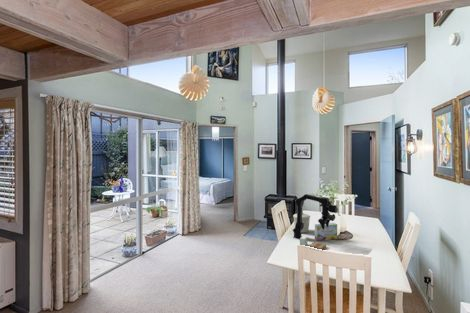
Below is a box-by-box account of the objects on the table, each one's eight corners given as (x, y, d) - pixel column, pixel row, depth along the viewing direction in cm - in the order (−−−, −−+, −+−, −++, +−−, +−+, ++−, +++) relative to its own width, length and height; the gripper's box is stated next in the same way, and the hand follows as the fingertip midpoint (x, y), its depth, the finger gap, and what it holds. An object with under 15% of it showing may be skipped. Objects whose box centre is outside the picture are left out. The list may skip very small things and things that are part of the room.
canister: (307, 235, 257) (307, 214, 256) (290, 232, 267) (290, 212, 266) (312, 230, 272) (312, 210, 271) (296, 227, 282) (296, 208, 281)
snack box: (317, 241, 240) (317, 225, 239) (314, 239, 245) (314, 223, 245) (337, 239, 244) (337, 223, 243) (334, 237, 249) (334, 222, 249)
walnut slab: (309, 248, 223) (309, 245, 223) (314, 244, 232) (314, 241, 232) (321, 251, 216) (321, 248, 216) (326, 247, 225) (326, 244, 225)
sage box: (299, 244, 231) (299, 237, 231) (302, 243, 235) (302, 236, 235) (304, 246, 228) (304, 239, 228) (307, 244, 232) (307, 237, 232)
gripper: (330, 214, 219) (330, 232, 220) (337, 210, 233) (337, 227, 234) (317, 212, 227) (318, 230, 227) (325, 209, 241) (326, 225, 241)
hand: (325, 228), depth 232 cm, fingers open, 9 cm apart
